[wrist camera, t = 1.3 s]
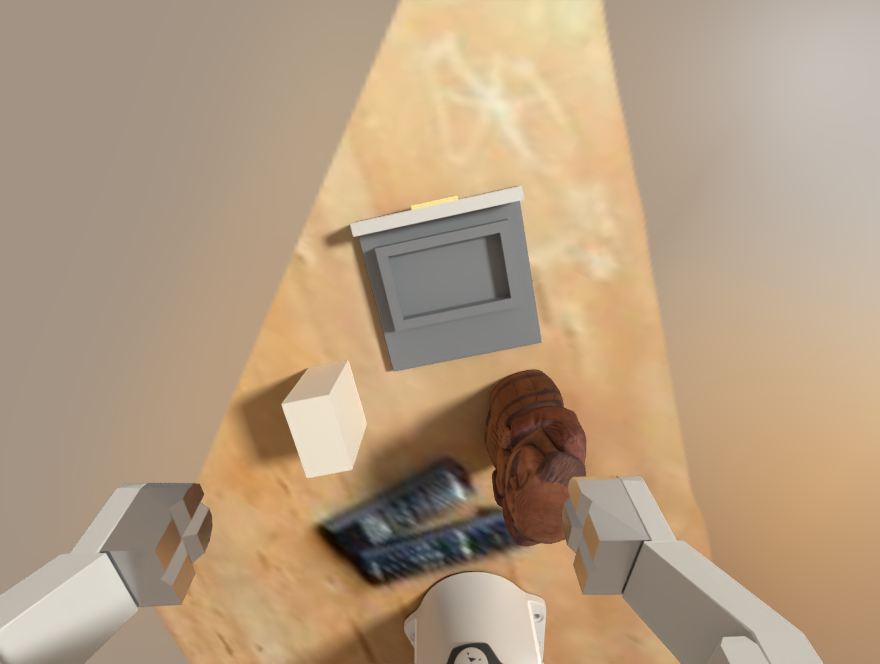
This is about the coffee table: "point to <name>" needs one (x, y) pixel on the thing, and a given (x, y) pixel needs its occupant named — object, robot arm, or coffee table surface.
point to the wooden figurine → (533, 455)
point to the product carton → (326, 418)
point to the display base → (451, 278)
